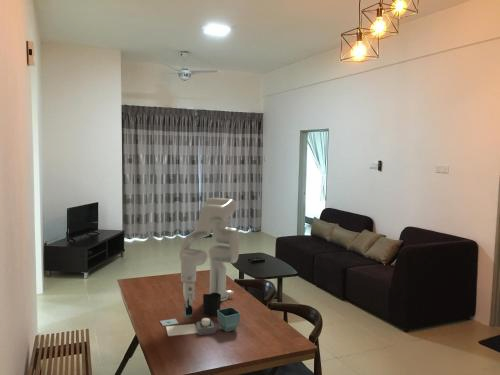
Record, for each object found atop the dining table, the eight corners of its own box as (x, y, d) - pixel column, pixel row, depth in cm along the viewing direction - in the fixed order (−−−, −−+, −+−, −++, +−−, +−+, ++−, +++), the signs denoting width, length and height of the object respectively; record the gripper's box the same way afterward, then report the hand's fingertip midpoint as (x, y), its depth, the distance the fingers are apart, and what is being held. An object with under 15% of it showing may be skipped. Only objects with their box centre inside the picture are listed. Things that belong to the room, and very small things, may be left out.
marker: (191, 314, 209) (191, 295, 208) (192, 317, 206) (192, 297, 205) (184, 314, 208) (184, 295, 207) (185, 317, 205) (185, 298, 204)
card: (175, 319, 209) (175, 318, 209) (178, 323, 204) (178, 322, 204) (159, 321, 206) (159, 320, 206) (162, 326, 200) (162, 325, 200)
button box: (212, 326, 202) (212, 320, 202) (215, 333, 194) (215, 327, 194) (195, 327, 200) (196, 321, 199) (198, 335, 192) (198, 328, 192)
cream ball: (208, 324, 199) (209, 317, 199) (210, 327, 196) (210, 320, 195) (200, 325, 198) (201, 318, 198) (202, 328, 194) (202, 321, 194)
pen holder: (217, 317, 213) (218, 299, 212) (200, 315, 214) (200, 297, 214) (222, 311, 222) (222, 293, 221) (205, 309, 224) (206, 291, 223)
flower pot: (224, 334, 193) (225, 316, 192) (216, 327, 201) (216, 310, 200) (240, 331, 198) (241, 313, 197) (231, 324, 205) (232, 306, 205)
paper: (194, 324, 203) (194, 323, 203) (198, 333, 194) (198, 332, 194) (166, 327, 199) (166, 326, 199) (168, 336, 190) (168, 335, 190)
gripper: (198, 282, 198) (198, 319, 200) (193, 272, 214) (193, 305, 216) (183, 284, 196) (183, 320, 198) (179, 273, 211) (179, 307, 214)
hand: (188, 312), depth 207 cm, fingers closed on marker, 3 cm apart
